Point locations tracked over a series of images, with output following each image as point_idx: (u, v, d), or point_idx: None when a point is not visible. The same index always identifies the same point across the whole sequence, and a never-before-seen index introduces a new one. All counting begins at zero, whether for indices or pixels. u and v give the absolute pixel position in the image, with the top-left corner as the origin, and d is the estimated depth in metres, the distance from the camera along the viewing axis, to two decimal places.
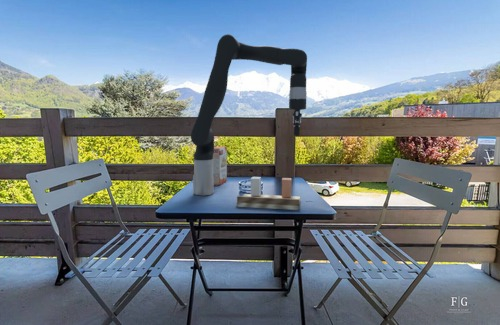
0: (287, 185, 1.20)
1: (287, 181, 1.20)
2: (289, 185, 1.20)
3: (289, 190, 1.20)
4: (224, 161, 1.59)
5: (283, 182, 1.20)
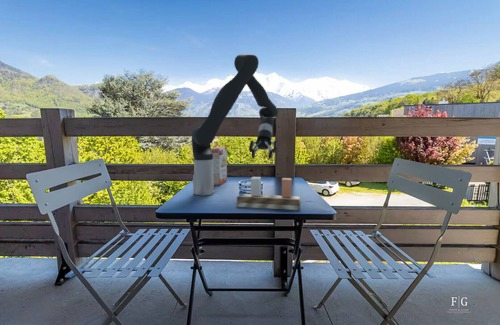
0: (287, 185, 1.20)
1: (287, 181, 1.20)
2: (289, 185, 1.20)
3: (289, 190, 1.20)
4: (224, 161, 1.59)
5: (283, 182, 1.20)
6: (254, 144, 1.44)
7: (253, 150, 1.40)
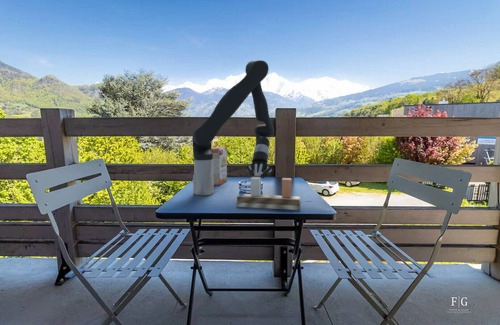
0: (287, 185, 1.20)
1: (287, 181, 1.20)
2: (289, 185, 1.20)
3: (289, 190, 1.20)
4: (224, 161, 1.59)
5: (283, 182, 1.20)
6: None
7: (255, 176, 1.28)
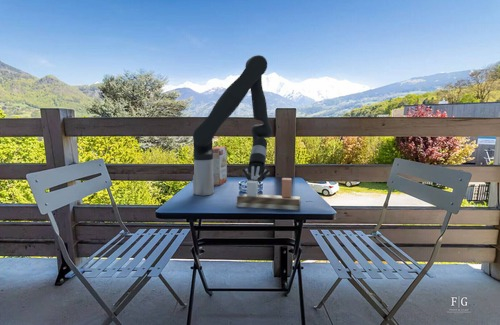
0: (287, 185, 1.20)
1: (287, 181, 1.20)
2: (289, 185, 1.20)
3: (289, 190, 1.20)
4: (224, 161, 1.59)
5: (283, 182, 1.20)
6: (247, 171, 1.25)
7: (252, 179, 1.21)
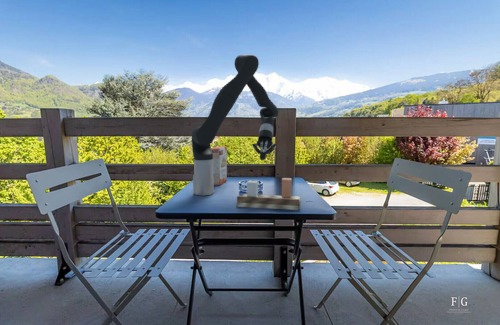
0: (287, 185, 1.20)
1: (287, 181, 1.20)
2: (289, 185, 1.20)
3: (289, 190, 1.20)
4: (224, 161, 1.59)
5: (283, 182, 1.20)
6: None
7: (261, 152, 1.39)
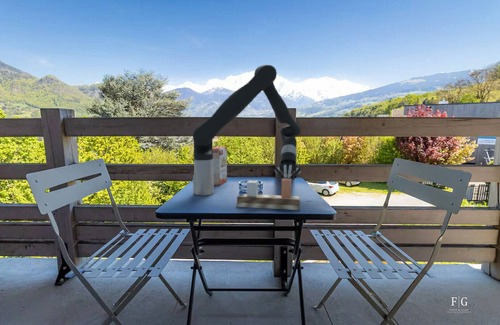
0: (287, 185, 1.19)
1: (287, 182, 1.18)
2: (289, 186, 1.18)
3: (289, 191, 1.19)
4: (224, 161, 1.59)
5: (283, 183, 1.19)
6: (279, 170, 1.29)
7: (285, 178, 1.25)
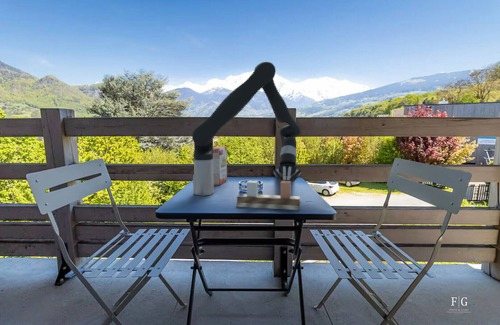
0: (286, 188, 1.14)
1: (286, 184, 1.14)
2: (288, 188, 1.14)
3: (288, 194, 1.14)
4: (224, 161, 1.59)
5: (282, 185, 1.14)
6: (278, 171, 1.25)
7: (284, 180, 1.20)
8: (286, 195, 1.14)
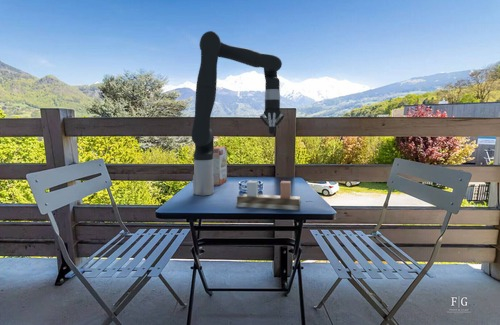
0: (286, 188, 1.14)
1: (286, 184, 1.13)
2: (288, 189, 1.14)
3: (288, 194, 1.14)
4: (224, 161, 1.59)
5: (282, 185, 1.14)
6: (264, 116, 1.39)
7: (270, 126, 1.37)
8: (286, 195, 1.14)
